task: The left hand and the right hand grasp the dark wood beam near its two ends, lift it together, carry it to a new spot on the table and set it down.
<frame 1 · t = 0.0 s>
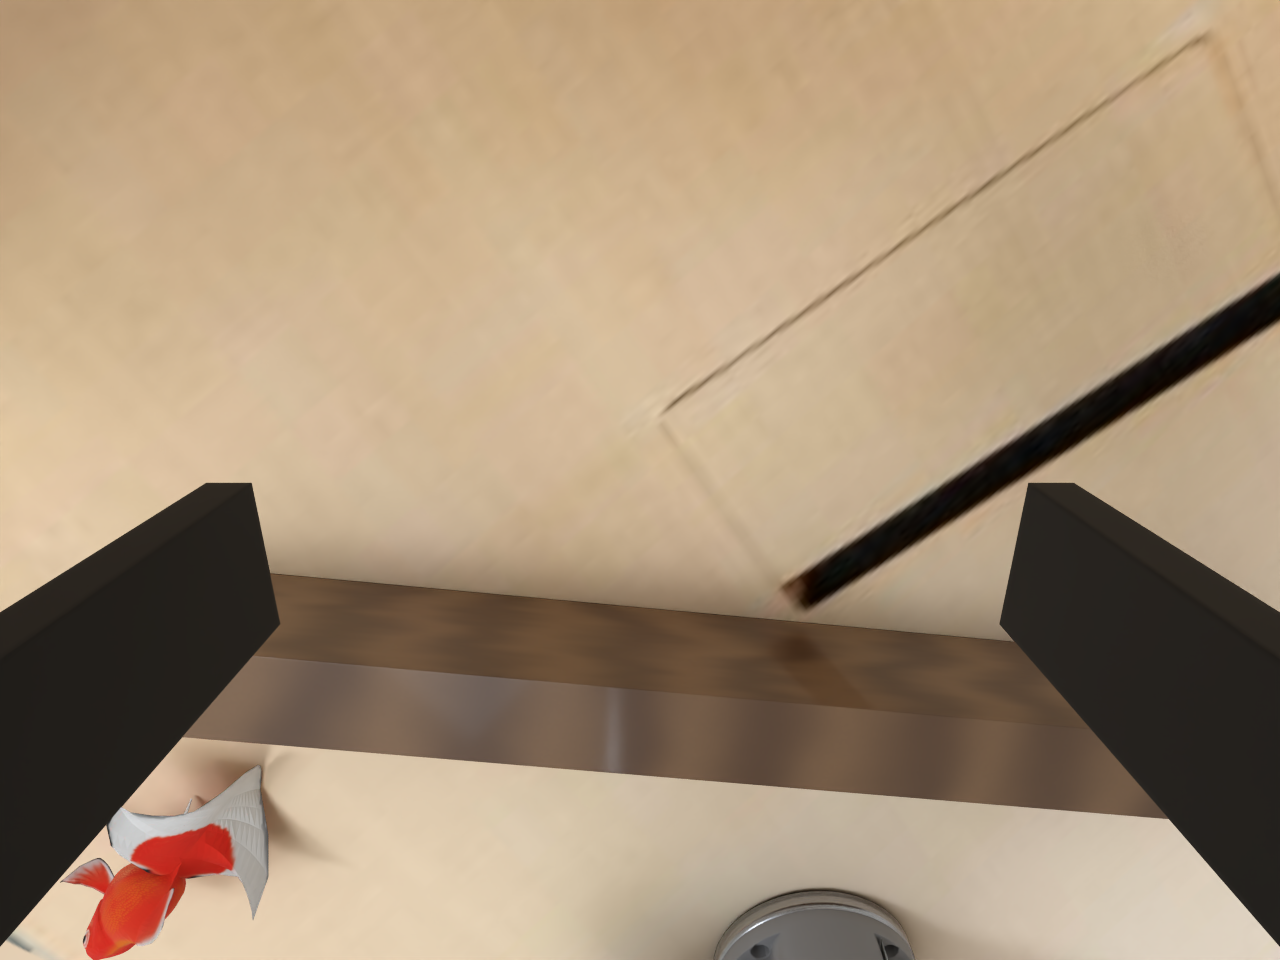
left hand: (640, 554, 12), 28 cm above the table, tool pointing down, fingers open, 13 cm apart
fish: (206, 811, 51), on the table
beam: (743, 655, 46), on the table
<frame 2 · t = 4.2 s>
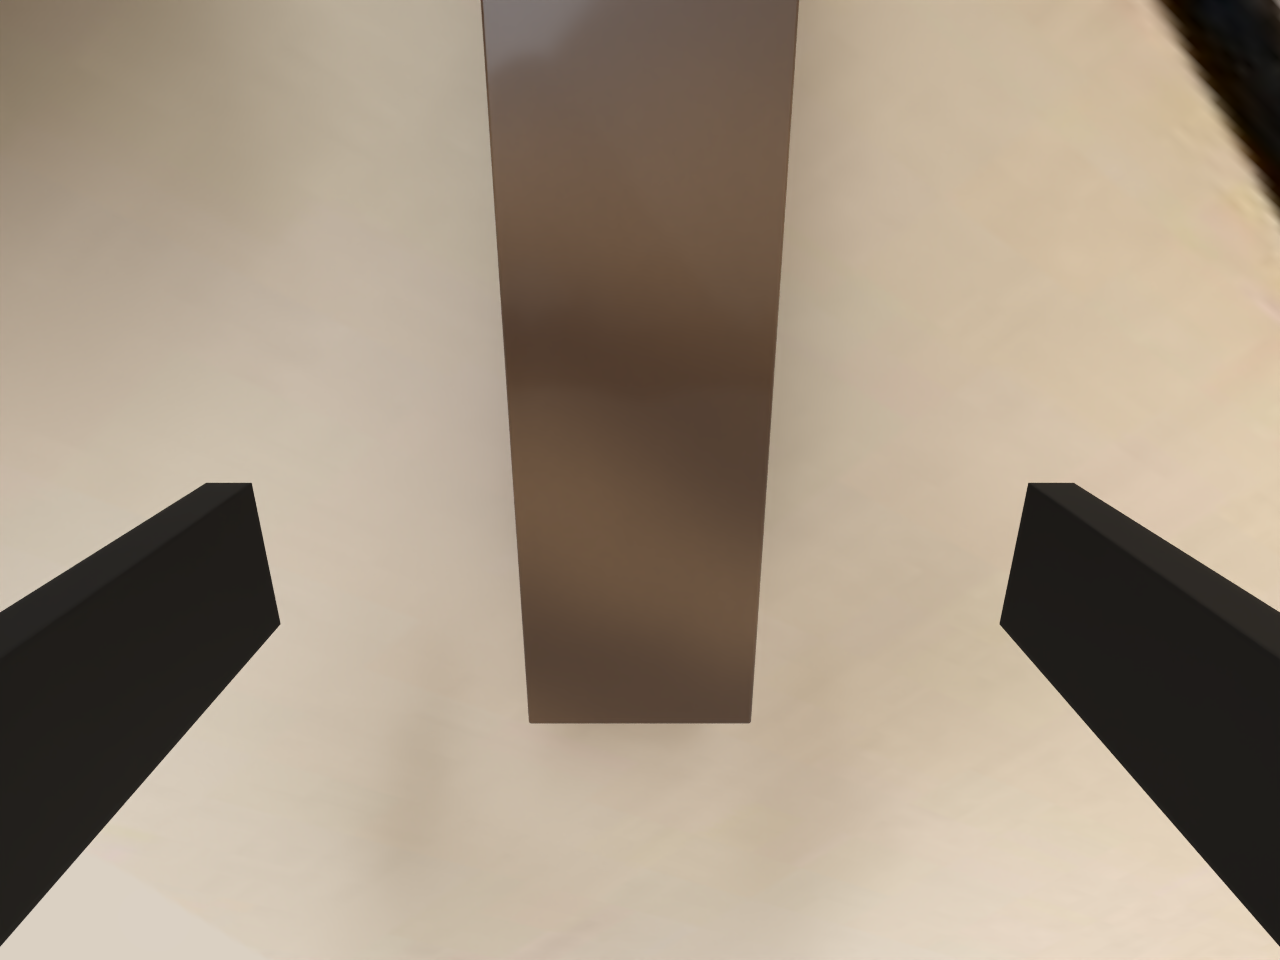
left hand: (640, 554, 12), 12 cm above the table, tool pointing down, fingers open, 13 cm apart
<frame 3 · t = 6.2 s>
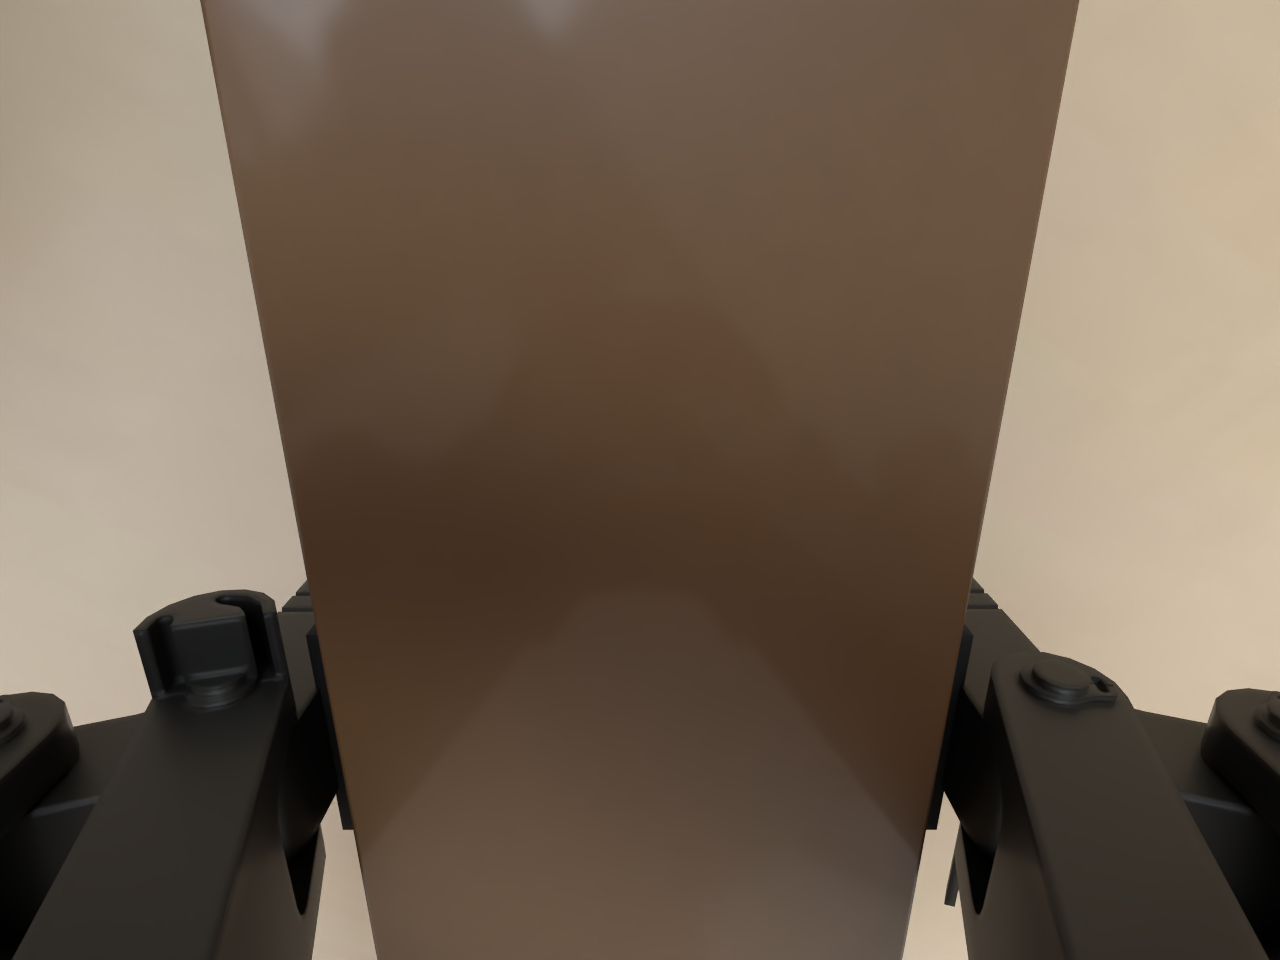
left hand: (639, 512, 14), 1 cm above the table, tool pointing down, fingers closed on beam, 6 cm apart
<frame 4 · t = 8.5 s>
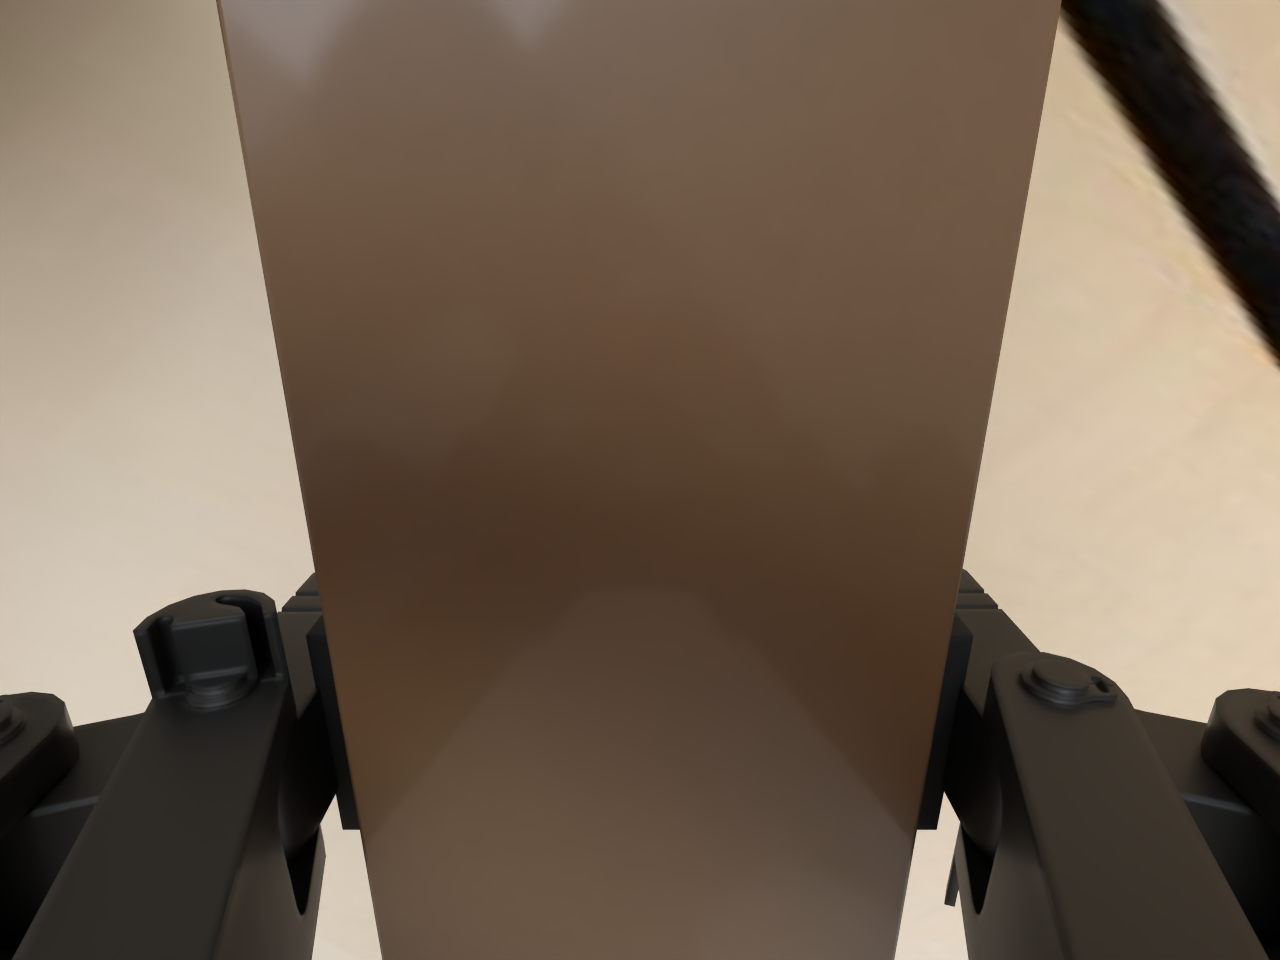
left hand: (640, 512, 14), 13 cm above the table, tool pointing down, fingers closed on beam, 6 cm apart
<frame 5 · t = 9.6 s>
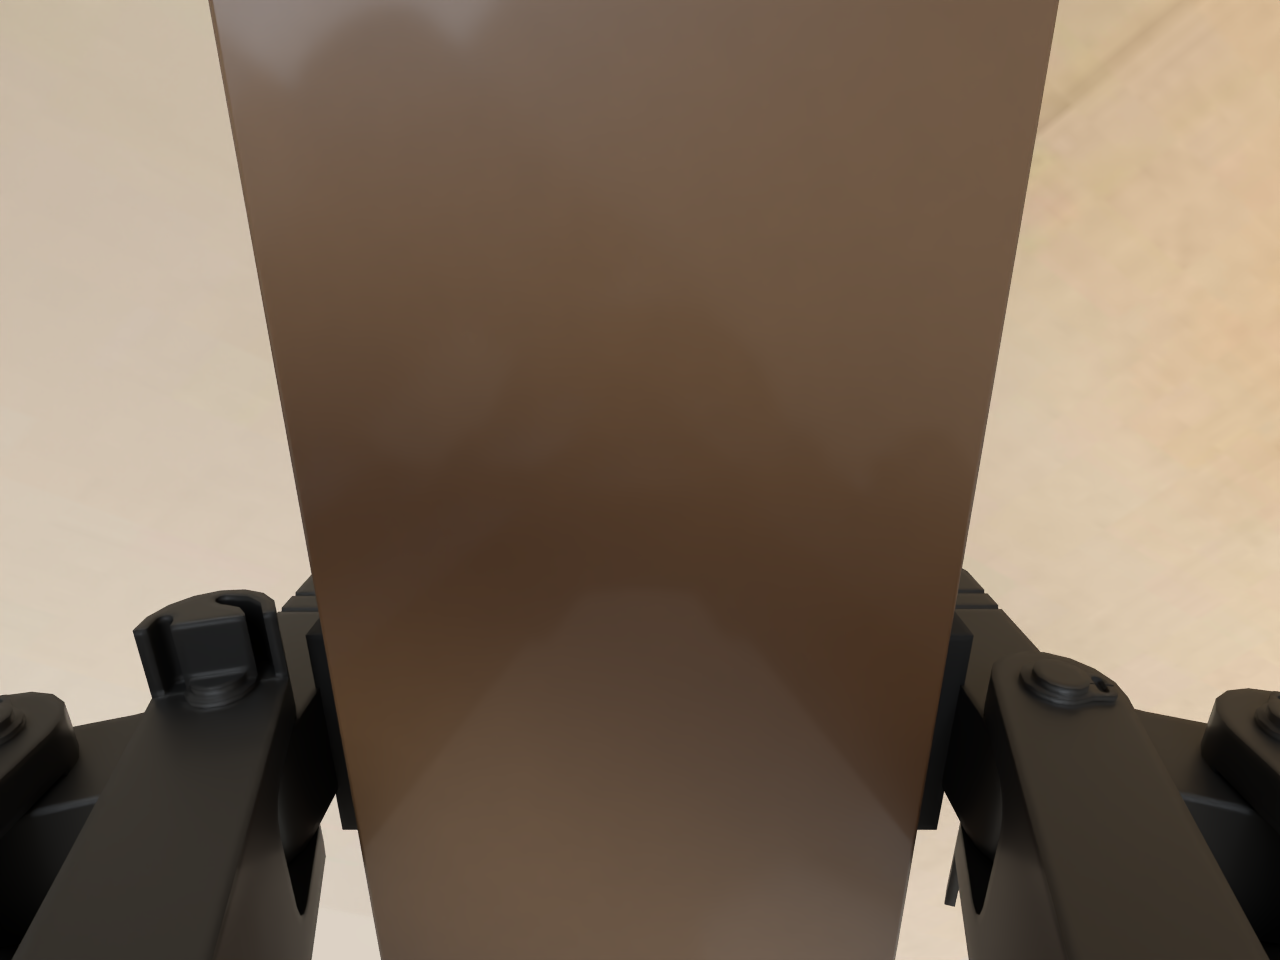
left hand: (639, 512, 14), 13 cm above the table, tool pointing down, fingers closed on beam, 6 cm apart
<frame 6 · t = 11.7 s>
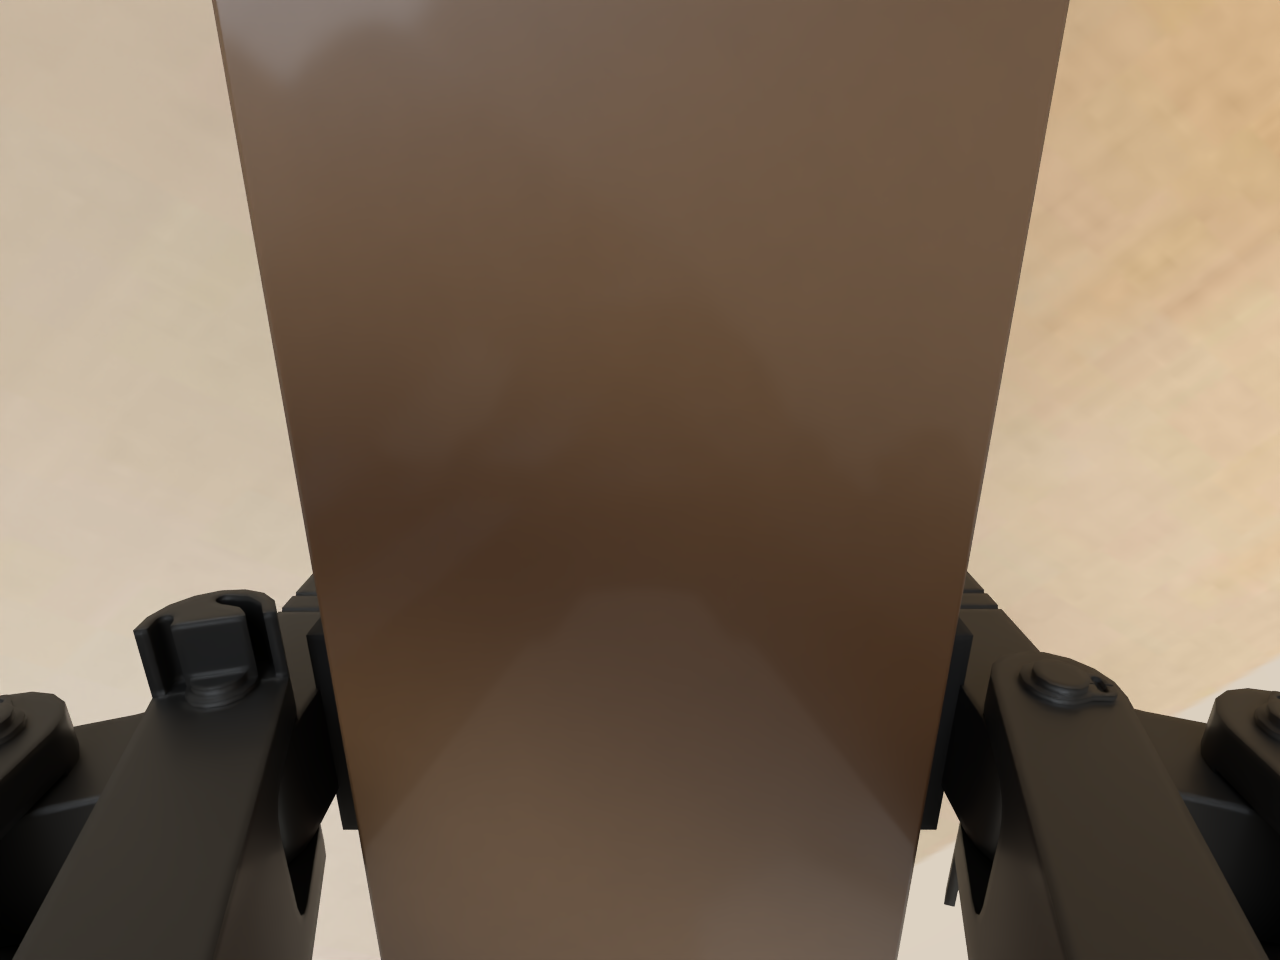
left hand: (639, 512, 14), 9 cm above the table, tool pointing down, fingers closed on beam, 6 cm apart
when the left hand's fingers open (2 cm above the table, at t = 13.1 s): beam drops 1 cm, on the table.
when the right hand's fingers open (4 cm above the table, at t = 13.3 s): beam stays where it is, on the table.
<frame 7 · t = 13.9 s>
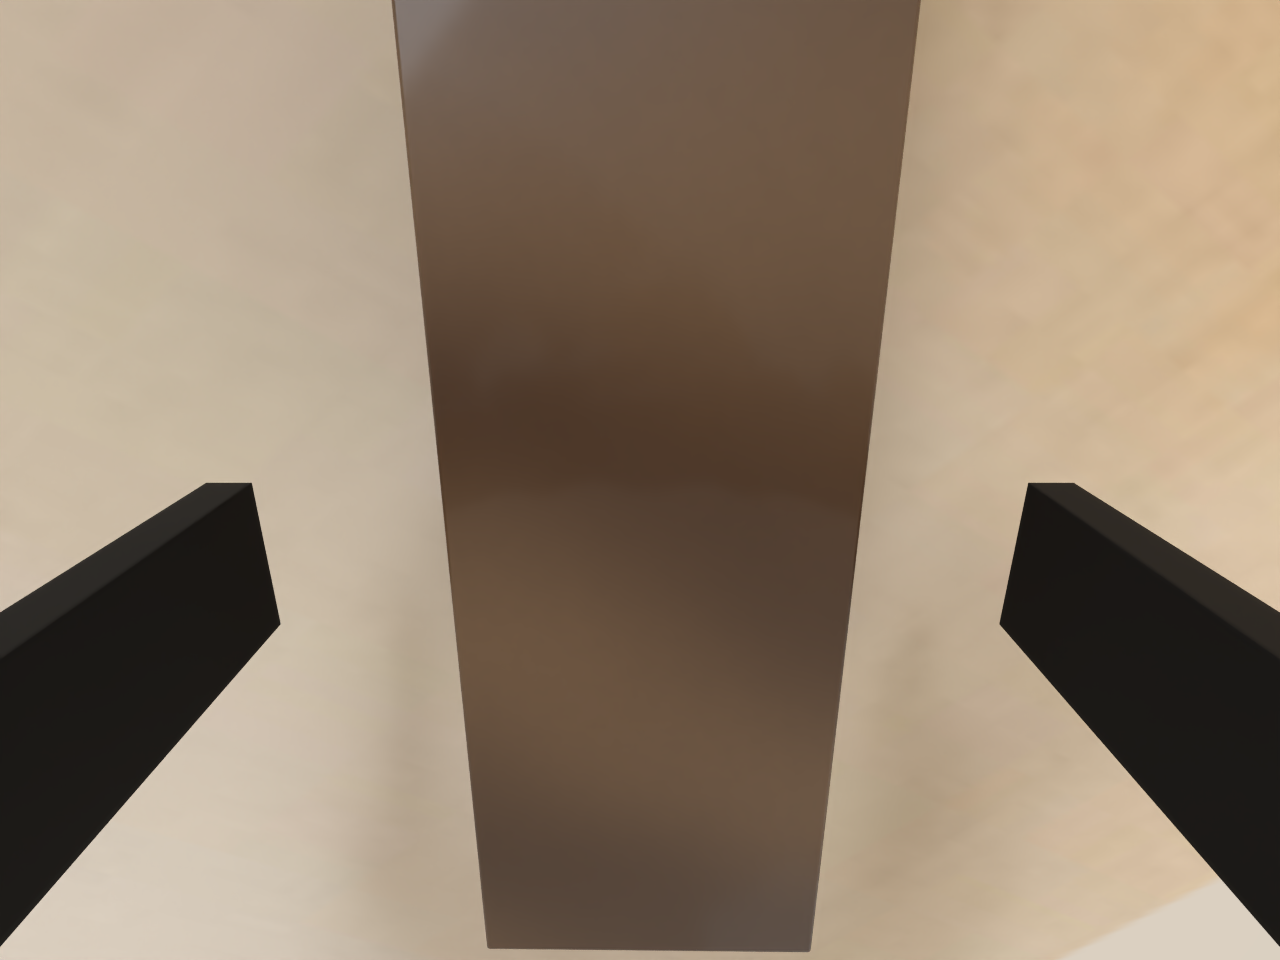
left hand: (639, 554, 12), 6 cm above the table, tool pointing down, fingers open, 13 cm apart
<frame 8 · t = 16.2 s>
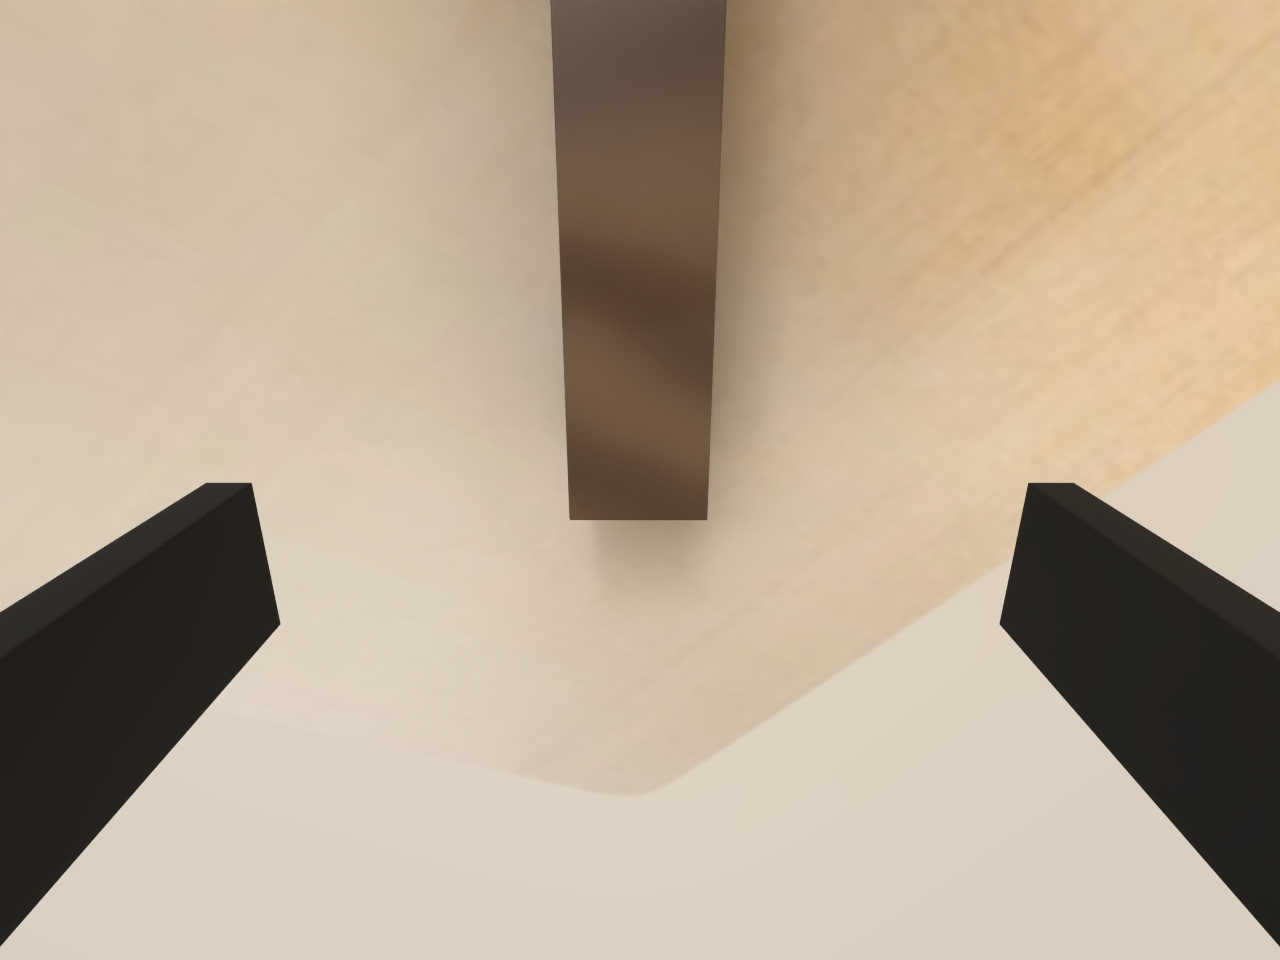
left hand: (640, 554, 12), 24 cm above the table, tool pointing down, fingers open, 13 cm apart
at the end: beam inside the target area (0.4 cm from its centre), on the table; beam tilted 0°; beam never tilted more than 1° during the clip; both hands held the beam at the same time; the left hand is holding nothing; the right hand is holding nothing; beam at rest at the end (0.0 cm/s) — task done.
